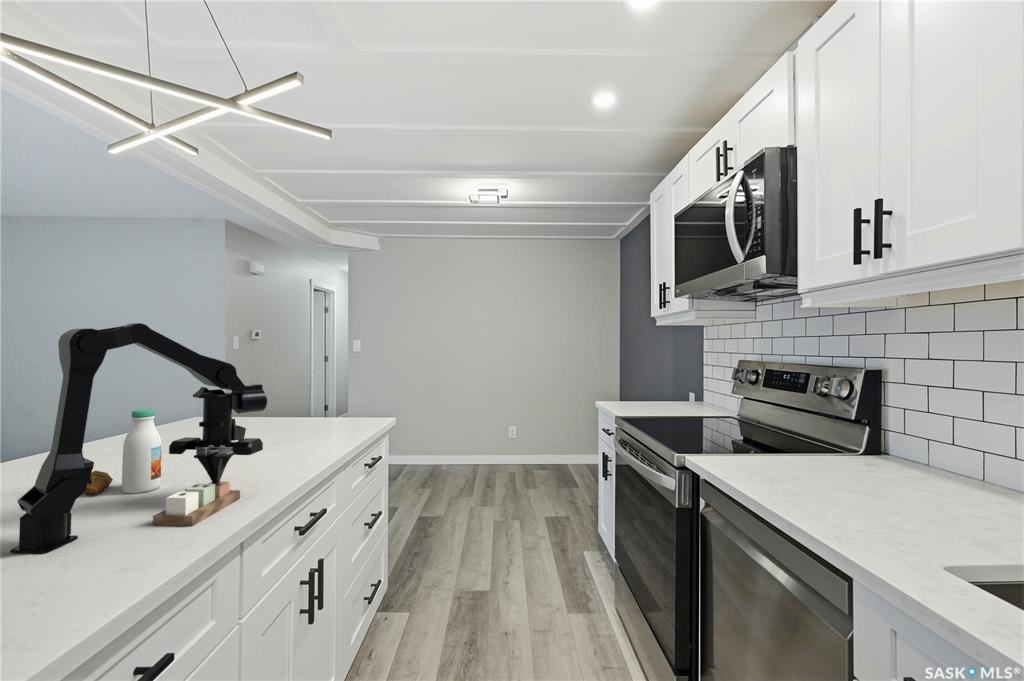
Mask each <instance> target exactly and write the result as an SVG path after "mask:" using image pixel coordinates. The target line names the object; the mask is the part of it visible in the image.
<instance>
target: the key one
mask: <svg viewBox="0 0 1024 681" xmlns="http://www.w3.org/2000/svg"><path fill="white" fill-rule="evenodd" d="M198 496H199V492H185V491H179V492H177V493H174V494H171V495H170V496H167V497H165V498H166V499H165V510H166V515H187V514H189V513H191V512H193V511H195V510H197V509H198Z"/></svg>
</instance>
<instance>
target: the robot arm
mask: <svg viewBox="0 0 1024 681" xmlns="http://www.w3.org/2000/svg"><path fill="white" fill-rule="evenodd" d="M57 343H58V345H57V346H58V356H59V357H58V358H59V363H60V367H61V370H62V371H61V372H62V381H61V382H62V383H61V386H60V387H61V388H60V395H59V399H58V404H57V405H58V406H57V413H56V418H55V419H56V420H55V425H54V430H53V431H54V432H53V438H52V444H51V448H50V451H49V453H48V455H47V456H46V458H45V460H44V461H43V462H42V465H41V467H40V469H39V472H38V475H37V477H36V479H35V482H34V485H33V486H32V487H31V488H30V489H29V490H28V491H27V492H25V493H24V494H23V495H22V496H21V497H20V498H19V499H17V501H16V502H17V504H18V506H19V507H20V509H21V510H22V512H23V511H24V512H25V513H23V515H21V516H20V517H19V529H18V530H19V538H18V546H14V547H12V548H10V549H9V553H18V554H19V553H21V554H22V553H23V554H25V553H26V554H28V553H29V554H30V553H32V554H44V553H48V552H51V551H53V550H55V549H57V548H60V547H63V546H64V545H66V544H69V543H71V542H73V541H75V540H77V539H79V535H71V534H72V513H71V511H72V510H73V509H72V508H73V507H74V505H75V502H76V500H77V499H79V498H80V497H81V496H83V495H85V494H84V492H85V490H86V488H87V483H88V484H92V481H91V472H93V469H94V466H95V462H94V461H93V460H90V459H88V458H86V457H84V453H83V446H84V442H85V441H84V439H85V436H86V435H85V433H86V429H87V421H88V415H89V409H90V402H91V396H92V390H93V385H94V378H95V376H96V374H97V373H98V371H99V369H100V367H101V366H102V364H103V362H104V359H105V357H106V354H107V352H108V351H110V350H114V349H118V348H122V347H123V348H124V347H126V346H130V345H133V344H134V345H136V346H138V347H140V348H142V349H144V350H147V352H150V353H152V354H155V355H157V356H159V357H161V358H163V359H166V360H167V361H169V362H170V363H171V362H172V363H173V364H176V365H177V366H179V367H181V368H183V369H185V370H186V371H187V372H189V373H190V374H191V376H193V377H194V378H195V379H197V380H198V381H199V382H201V383H202V384H203V385H205V386H208V387H215V388H218V389H208V388H207V387H204V386H201V387H200V388H199V390H198V391H196V392H195V393H193V394H192V397H193V398H197V399H203V400H202V402H203V403H202V421H199V422H198V427H199V428H200V427H201V428H202V438H200V437H189V436H188V437H186V436H185V437H182V438H179V439H176V440H173V441H171V442H170V444H169V445H168V454H169V455H183V454H184V453H185V452H186V451H188V450H189V451H190V450H192V451H194V450H195V454H194V455H193V458H194V459H197V460H198V461H199V463H200V464H201V466H202V467H203V468H204V470H205V471H206V473H207V475H208V476H209V479H210V480H211V481H210V482H213V484H217V483H219V482H220V481H221V479H222V476H223V474H224V472H225V469H226V467H227V465H228V463H229V461H230V459H231V458H232V457H233V456H251V455H253V454H254V455H255V454H257V453H258V452H260V451H263V449H264V443H263V441H262V439H261V438H255V437H254V438H249V437H248V438H247V437H245V435H246V431H247V428H246V427H244V426H240V425H237V423H236V418H233V417H232V416H233V411H234V412H235V413H236V414H239V415H240V414H247V413H249V414H250V413H256V412H257V413H258V412H263V411H265V410H266V409H267V406H268V397H267V395H266V392H265V390H264V389H263V384H259V383H256V384H250V385H245V383H243V381H242V379H241V378H240V377H239V376H238V373H237V368H236V367H235V365H233V364H232V363H229V362H227V361H223V360H220V359H217V358H213V357H209V356H205V355H203V354H200V353H198V352H196V351H194V350H193V349H190V348H189V347H187V346H185V345H183V344H181V343H179V342H177V341H175V340H173V339H171V338H169V337H167V336H165V335H163V334H162V333H160V332H158V331H156V330H153V329H152V328H150V327H149V325H146V324H144V323H136V322H135V323H134V322H133V323H128V324H125V325H120V326H115V327H108V328H102V329H94V328H73V329H69V330H67V331H65V332H64V333H63V334H61V336H60V337H59V339H58V342H57ZM224 390H228V391H231V392H225V391H224Z"/></svg>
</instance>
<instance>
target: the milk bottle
mask: <svg viewBox="0 0 1024 681" xmlns="http://www.w3.org/2000/svg"><path fill="white" fill-rule="evenodd" d="M155 411H156V410H155V409H153V408H142V409H141V408H139V409H134V410H132V411H131V420H132V423H131V426H130V429H129V431H128V433H127V434H126V436H125V439H124V442H123V446H122V462H121V463H122V466H121V471H122V472H121V490H122V492H123V493H124V494H140V493H141V494H142V493H148V492H152V491H154V490H157V489H160V487H161V484H162V440H161V436H160V433H159V431H158V429H157V427H156V425H155V421H154V419H155V418H156V417H155V414H156V412H155Z"/></svg>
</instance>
